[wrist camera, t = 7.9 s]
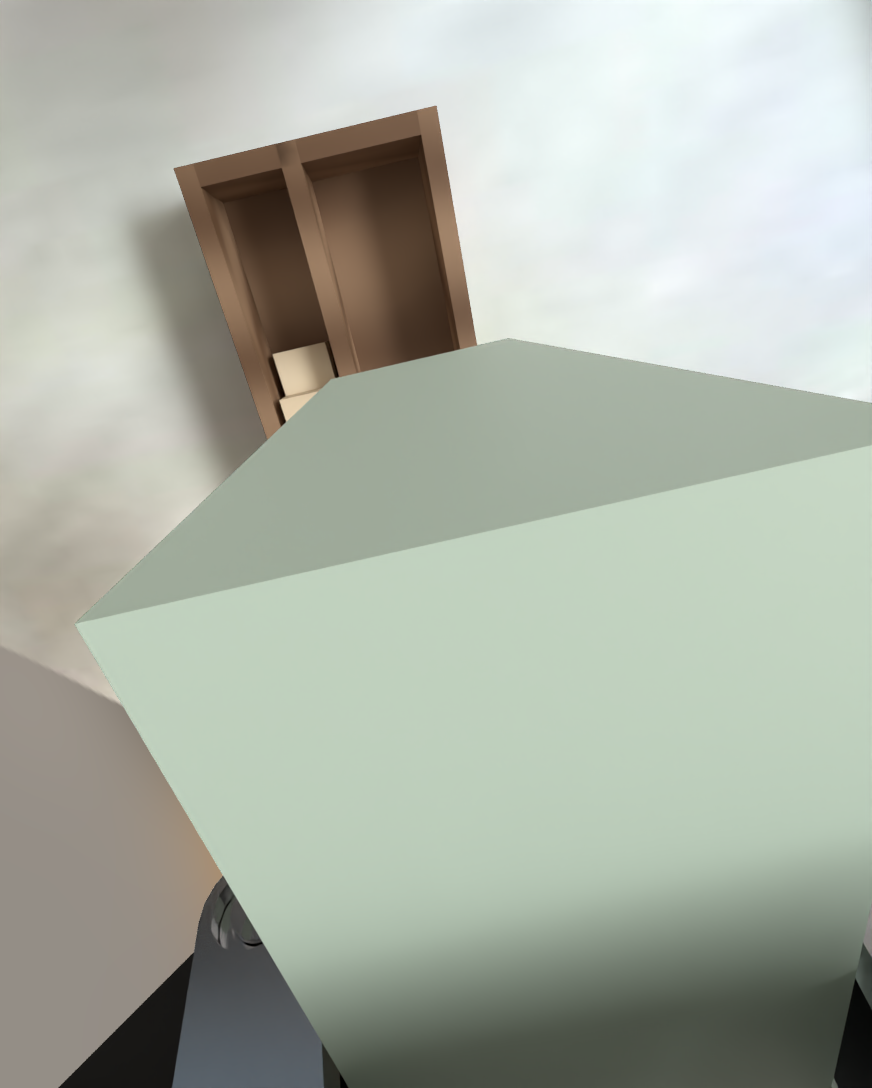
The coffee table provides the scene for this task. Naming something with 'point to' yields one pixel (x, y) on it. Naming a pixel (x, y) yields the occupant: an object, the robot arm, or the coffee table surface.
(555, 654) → the pale green block
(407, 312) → the tray
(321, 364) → the offcut lower
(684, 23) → the coffee table surface
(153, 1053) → the robot arm
